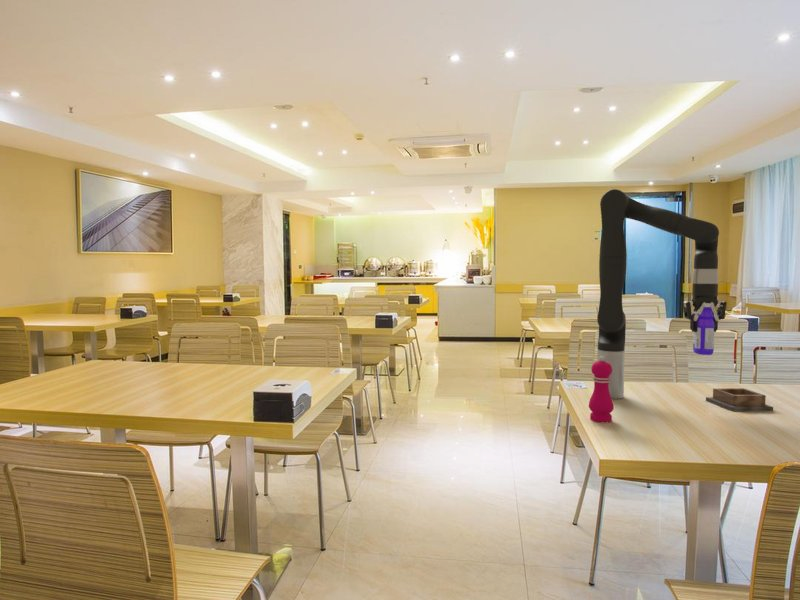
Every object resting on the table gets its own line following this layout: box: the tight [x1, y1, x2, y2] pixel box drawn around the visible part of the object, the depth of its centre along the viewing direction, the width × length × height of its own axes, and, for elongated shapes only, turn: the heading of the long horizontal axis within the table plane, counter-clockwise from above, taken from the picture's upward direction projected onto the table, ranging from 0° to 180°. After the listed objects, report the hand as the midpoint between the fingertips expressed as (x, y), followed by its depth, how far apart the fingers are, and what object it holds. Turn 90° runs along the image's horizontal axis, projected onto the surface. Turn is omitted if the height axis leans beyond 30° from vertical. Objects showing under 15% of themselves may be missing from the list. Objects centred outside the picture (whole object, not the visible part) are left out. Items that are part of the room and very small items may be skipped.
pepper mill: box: [588, 356, 615, 424], centre depth 163 cm, size 7×7×20 cm
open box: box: [705, 387, 774, 412], centre depth 181 cm, size 14×14×5 cm
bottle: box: [692, 303, 715, 356], centre depth 179 cm, size 7×6×17 cm
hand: (703, 331), depth 179 cm, fingers closed on bottle, 6 cm apart
